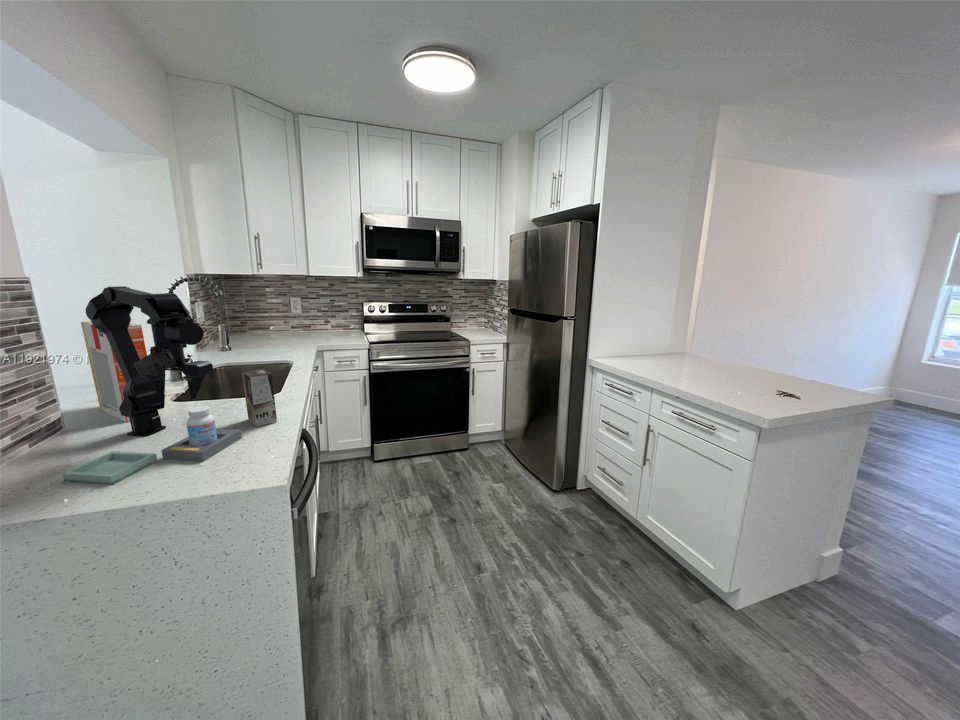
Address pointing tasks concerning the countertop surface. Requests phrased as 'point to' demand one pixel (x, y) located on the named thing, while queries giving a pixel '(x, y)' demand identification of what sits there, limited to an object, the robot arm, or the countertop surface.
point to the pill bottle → (201, 426)
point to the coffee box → (259, 397)
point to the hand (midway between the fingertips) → (177, 397)
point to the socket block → (201, 447)
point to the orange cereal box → (109, 366)
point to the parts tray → (110, 467)
